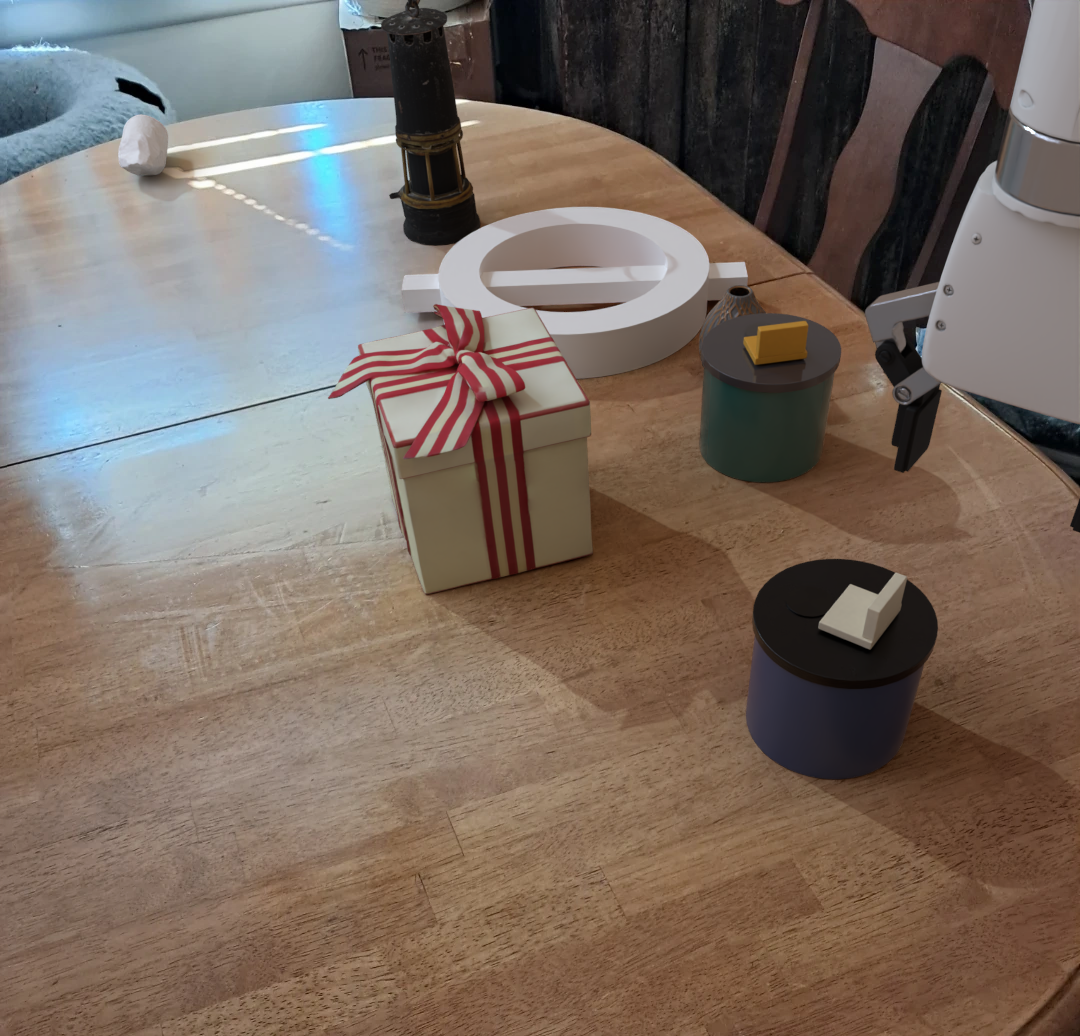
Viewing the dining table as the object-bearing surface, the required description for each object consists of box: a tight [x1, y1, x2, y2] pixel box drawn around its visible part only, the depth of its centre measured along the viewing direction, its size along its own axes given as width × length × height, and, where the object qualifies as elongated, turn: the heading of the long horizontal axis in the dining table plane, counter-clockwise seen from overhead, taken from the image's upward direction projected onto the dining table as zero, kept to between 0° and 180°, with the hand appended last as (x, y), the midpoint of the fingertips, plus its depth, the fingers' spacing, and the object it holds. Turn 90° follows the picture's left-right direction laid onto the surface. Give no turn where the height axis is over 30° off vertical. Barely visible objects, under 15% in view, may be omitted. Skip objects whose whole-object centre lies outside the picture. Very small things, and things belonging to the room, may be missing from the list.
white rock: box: [117, 114, 169, 176], centre depth 151 cm, size 6×12×6 cm, turn 10°
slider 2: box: [818, 572, 908, 650], centre depth 72 cm, size 4×4×3 cm
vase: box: [698, 285, 767, 369], centre depth 109 cm, size 7×7×9 cm
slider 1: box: [743, 321, 808, 365], centre depth 95 cm, size 4×4×3 cm
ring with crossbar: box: [401, 206, 749, 380], centre depth 121 cm, size 28×28×5 cm
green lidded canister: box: [698, 312, 842, 483], centre depth 100 cm, size 12×12×10 cm
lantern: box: [380, 0, 481, 246], centre depth 127 cm, size 9×9×30 cm
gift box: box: [327, 304, 594, 595], centre depth 91 cm, size 17×18×17 cm
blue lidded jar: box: [745, 558, 939, 780], centre depth 77 cm, size 12×12×10 cm
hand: (995, 487), depth 62 cm, fingers open, 9 cm apart
